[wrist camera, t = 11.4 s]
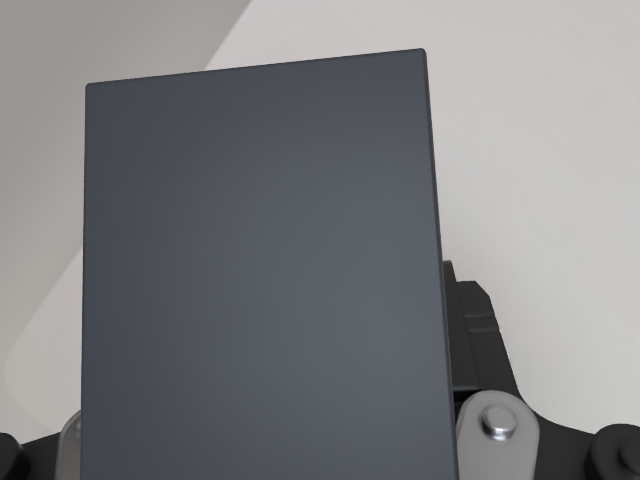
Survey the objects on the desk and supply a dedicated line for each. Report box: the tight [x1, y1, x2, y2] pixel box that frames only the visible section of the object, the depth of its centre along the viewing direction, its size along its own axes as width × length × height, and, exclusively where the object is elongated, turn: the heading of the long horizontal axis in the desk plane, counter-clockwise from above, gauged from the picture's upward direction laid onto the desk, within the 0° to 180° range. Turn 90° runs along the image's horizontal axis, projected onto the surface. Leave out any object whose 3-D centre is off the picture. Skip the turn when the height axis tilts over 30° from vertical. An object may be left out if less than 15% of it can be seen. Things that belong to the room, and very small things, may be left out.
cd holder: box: [80, 48, 460, 480], centre depth 11 cm, size 10×5×10 cm, turn 3°
